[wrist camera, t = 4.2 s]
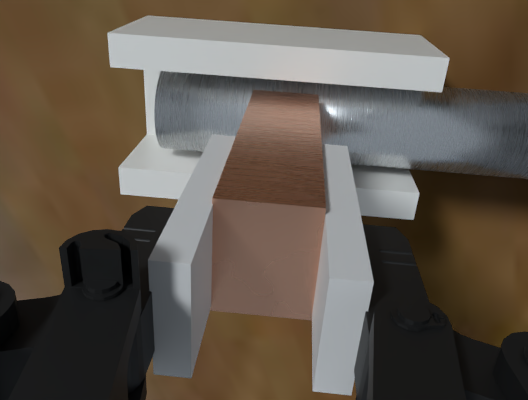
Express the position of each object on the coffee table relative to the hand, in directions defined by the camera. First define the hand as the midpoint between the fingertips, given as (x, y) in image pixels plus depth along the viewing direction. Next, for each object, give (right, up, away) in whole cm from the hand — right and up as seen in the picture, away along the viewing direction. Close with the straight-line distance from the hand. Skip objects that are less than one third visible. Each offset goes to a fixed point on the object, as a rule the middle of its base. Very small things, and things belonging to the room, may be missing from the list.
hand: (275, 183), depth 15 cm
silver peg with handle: (+4, +3, +7) cm, 9 cm away
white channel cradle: (0, +4, +9) cm, 10 cm away
